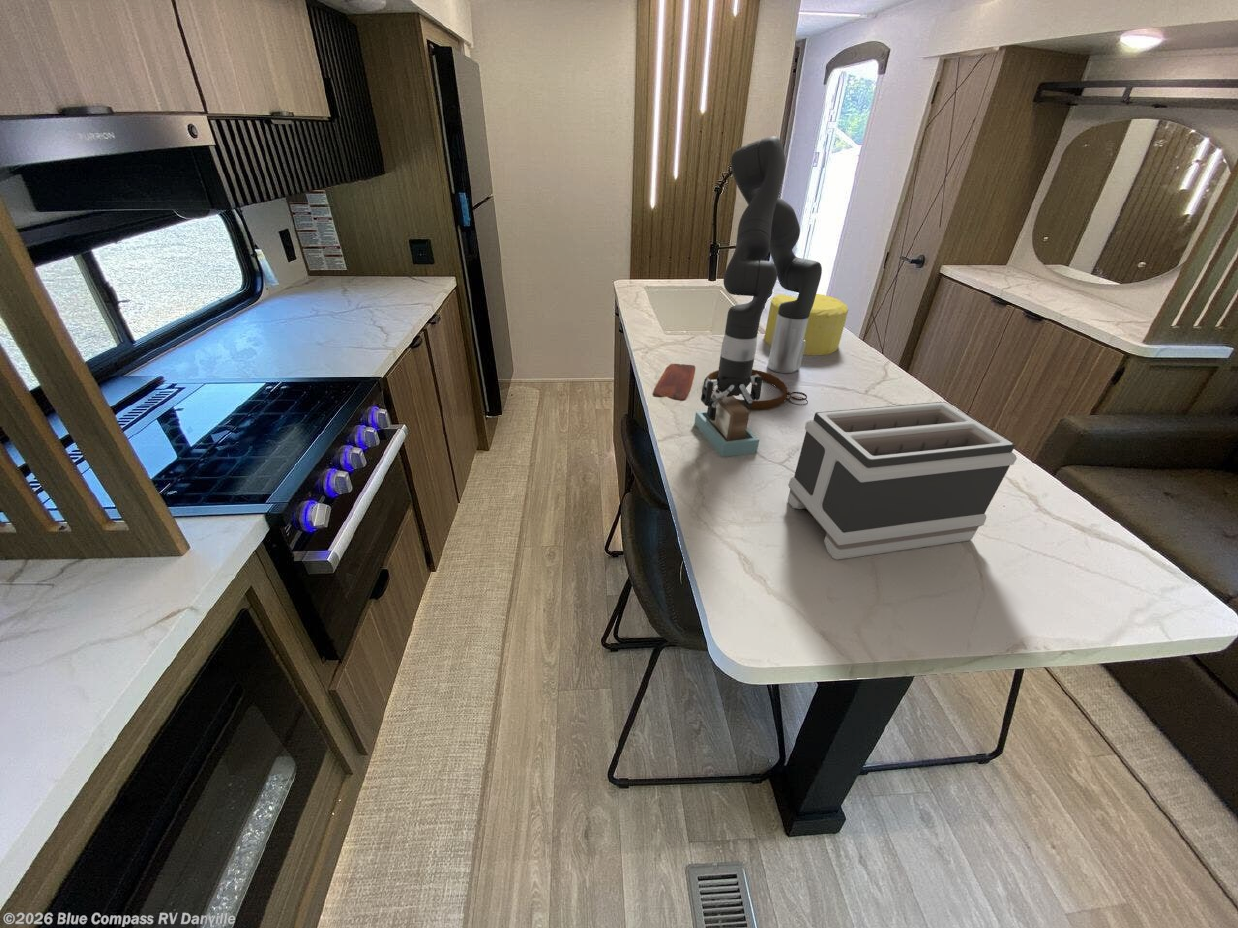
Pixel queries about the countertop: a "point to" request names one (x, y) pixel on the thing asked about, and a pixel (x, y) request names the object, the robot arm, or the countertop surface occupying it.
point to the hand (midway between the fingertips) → (727, 417)
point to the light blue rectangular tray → (719, 442)
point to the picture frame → (731, 419)
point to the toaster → (898, 476)
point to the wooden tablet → (675, 382)
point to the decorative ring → (773, 402)
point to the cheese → (814, 323)
